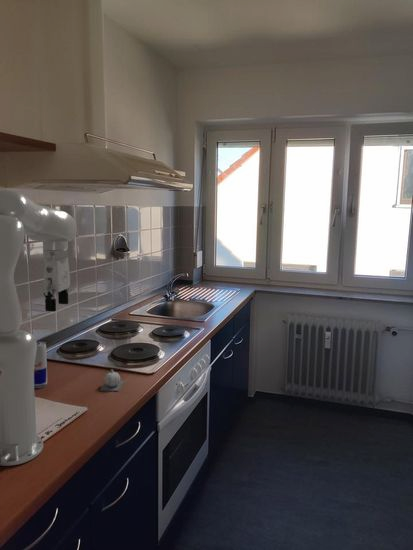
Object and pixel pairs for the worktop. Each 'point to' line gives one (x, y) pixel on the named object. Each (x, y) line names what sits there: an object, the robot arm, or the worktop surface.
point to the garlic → (112, 379)
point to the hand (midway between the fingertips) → (57, 307)
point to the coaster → (115, 388)
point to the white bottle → (40, 366)
